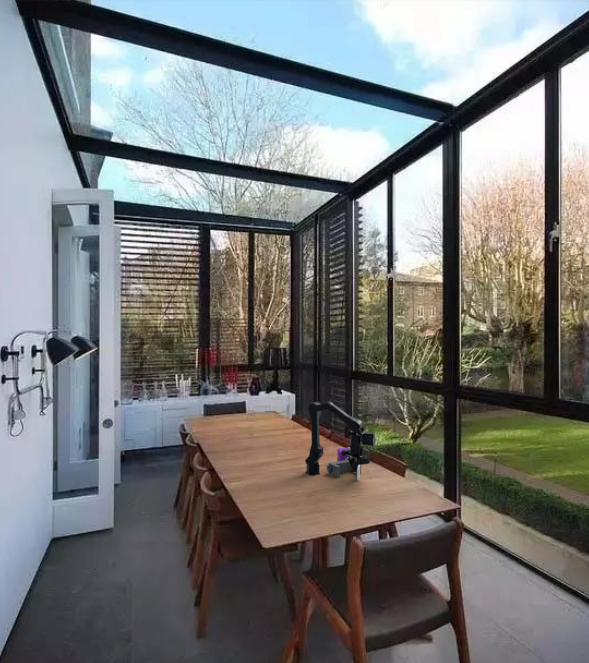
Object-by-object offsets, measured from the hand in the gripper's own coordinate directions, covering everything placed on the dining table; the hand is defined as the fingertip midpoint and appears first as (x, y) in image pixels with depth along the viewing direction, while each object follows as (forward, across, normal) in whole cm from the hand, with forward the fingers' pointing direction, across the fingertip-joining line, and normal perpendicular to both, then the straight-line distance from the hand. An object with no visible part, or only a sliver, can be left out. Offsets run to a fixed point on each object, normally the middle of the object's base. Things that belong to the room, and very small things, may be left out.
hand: (354, 472), depth 230 cm
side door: (+3, +1, -3) cm, 4 cm away
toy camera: (+5, +21, -10) cm, 24 cm away
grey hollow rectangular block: (+4, +10, 0) cm, 11 cm away
